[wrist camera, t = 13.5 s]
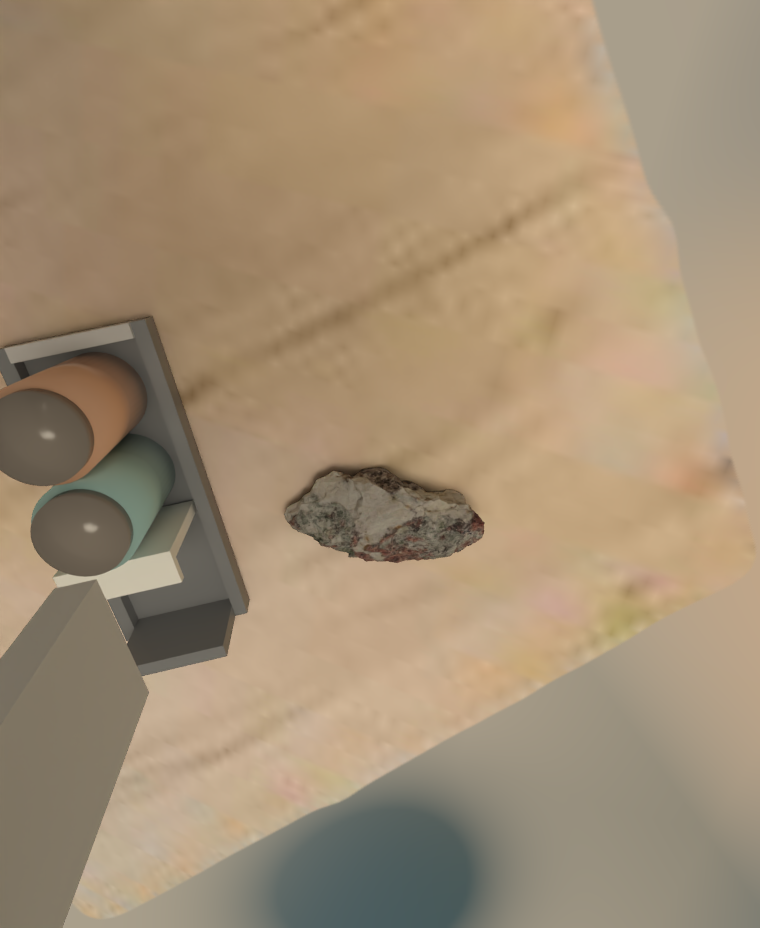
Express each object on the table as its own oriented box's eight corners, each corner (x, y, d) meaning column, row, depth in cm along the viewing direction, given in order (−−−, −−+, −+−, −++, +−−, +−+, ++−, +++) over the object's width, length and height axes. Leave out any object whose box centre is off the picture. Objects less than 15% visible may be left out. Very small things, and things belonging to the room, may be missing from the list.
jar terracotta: (73, 441, 39) (-1, 501, 29) (42, 359, 36) (-49, 395, 27) (157, 428, 39) (110, 482, 30) (132, 345, 37) (72, 376, 27)
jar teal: (77, 443, 39) (4, 502, 29) (160, 425, 39) (113, 479, 30) (107, 515, 41) (49, 592, 32) (185, 498, 41) (150, 569, 32)
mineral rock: (281, 525, 44) (278, 553, 40) (313, 438, 41) (314, 459, 37) (441, 571, 48) (454, 601, 43) (480, 494, 45) (497, 518, 41)
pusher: (97, 521, 41) (52, 577, 34) (193, 500, 41) (169, 551, 34) (108, 548, 42) (68, 608, 35) (203, 527, 42) (181, 582, 35)
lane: (5, 346, 36) (-56, 365, 30) (152, 316, 37) (120, 328, 31) (133, 626, 45) (105, 684, 39) (249, 599, 46) (240, 653, 40)
